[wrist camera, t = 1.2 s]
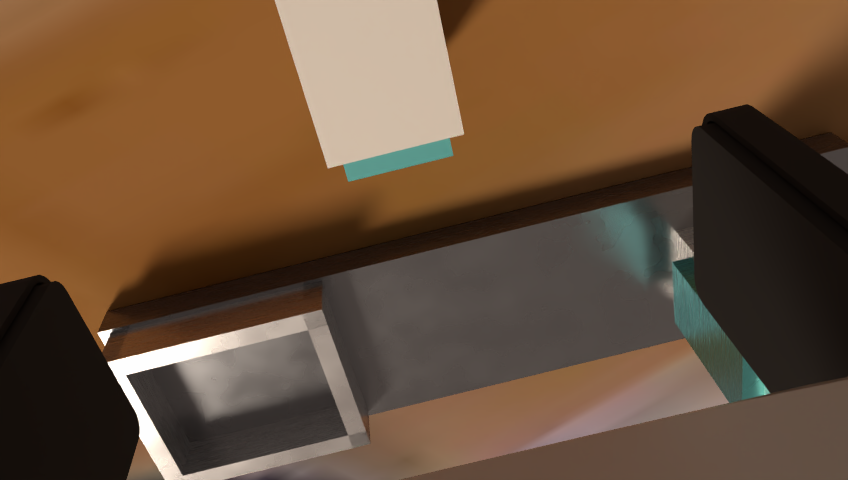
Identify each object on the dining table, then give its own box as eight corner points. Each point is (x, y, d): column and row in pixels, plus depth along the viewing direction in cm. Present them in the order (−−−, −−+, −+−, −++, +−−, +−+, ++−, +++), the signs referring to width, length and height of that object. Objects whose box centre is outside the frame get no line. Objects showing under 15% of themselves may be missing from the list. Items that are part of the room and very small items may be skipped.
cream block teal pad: (399, -86, 25) (427, -47, 18) (434, 74, 28) (469, 159, 21) (286, -58, 25) (272, -8, 18) (333, 99, 28) (335, 192, 21)
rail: (831, 132, 31) (1007, 244, 23) (819, 282, 36) (965, 423, 27) (106, 311, 32) (31, 483, 24) (177, 440, 36) (133, 624, 28)
